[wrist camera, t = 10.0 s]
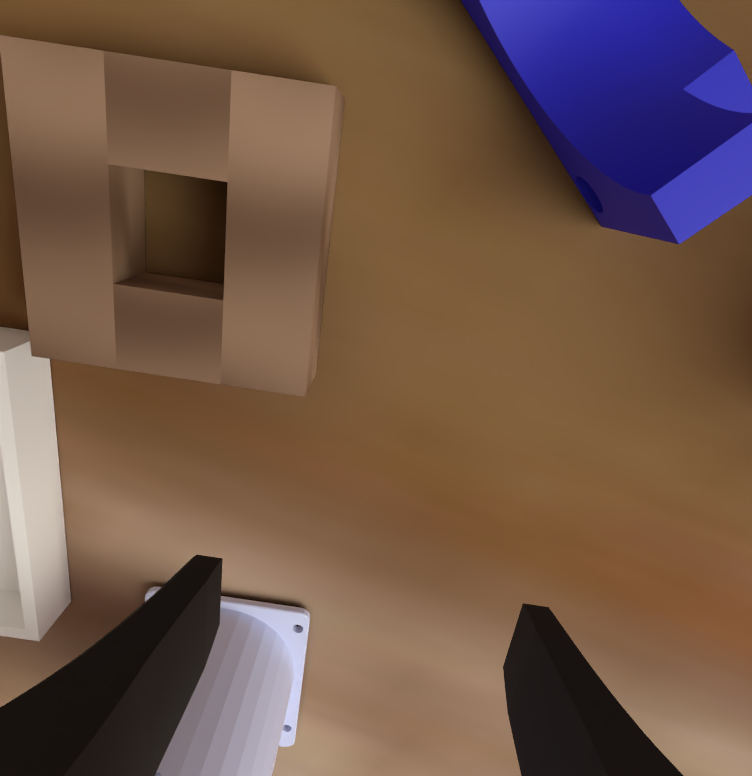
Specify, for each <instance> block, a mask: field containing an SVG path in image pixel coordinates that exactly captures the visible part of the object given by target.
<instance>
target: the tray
mask: <svg viewBox="0 0 752 776" xmlns="http://www.w3.org/2000/svg"><path fill="white" fill-rule="evenodd" d="M70 602H71V592H70V581H69V570H68V559H67V547H66V536H65V525H64V514H63V503H62V492H61V480H60V469H59V458H58V447H57V436H56V425H55V414H54V402H53V391H52V380H51V369H50V359H47V358H41V357H34V356H32V355H31V345H30V336H29V331H26V330H20V329H13V328H6V327H0V636H7V637H13V638H20V639H27V640H34V641H40V640H41V639H42V638H43V636H44V635H45V634H46V633H47V631H48V630H49V629H50V627H51V626H52V625H53V624H54V622H55V621H56V620H57V619H58V617H59V616H60V615H61V614H62V612H63V611H64V610H65V609H66V607H67V606H68V605H69V604H70Z"/></svg>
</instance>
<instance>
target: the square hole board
mask: <svg viewBox="0 0 752 776" xmlns="http://www.w3.org/2000/svg"><path fill="white" fill-rule="evenodd" d="M0 53H1V63H2V72H3V82H4V92H5V102H6V111H7V121H8V131H9V141H10V150H11V160H12V170H13V180H14V189H15V199H16V209H17V219H18V228H19V238H20V248H21V258H22V267H23V277H24V287H25V297H26V306H27V316H28V326H29V336H30V345H31V355H32V356H34V357H41V358H47V359H54V360H61V361H67V362H74V363H81V364H88V365H94V366H101V367H108V368H114V369H121V370H128V371H134V372H141V373H148V374H155V375H161V376H168V377H175V378H181V379H188V380H195V381H201V382H208V383H215V384H222V385H228V386H235V387H242V388H248V389H255V390H262V391H268V392H275V393H282V394H289V395H295V396H302V397H305V396H306V394H307V392H308V390H309V387H310V385H311V383H312V381H313V379H314V377H315V374H316V367H317V358H318V348H319V339H320V329H321V320H322V310H323V301H324V291H325V282H326V272H327V263H328V253H329V244H330V234H331V225H332V215H333V206H334V196H335V187H336V177H337V168H338V158H339V149H340V139H341V130H342V120H343V111H344V101H345V98H344V97H343V95H342V94H341V92H340V91H339V90H338V88H337V87H336V86H333V85H326V84H319V83H313V82H306V81H300V80H293V79H286V78H280V77H273V76H267V75H260V74H254V73H247V72H240V71H234V70H227V69H221V68H214V67H207V66H201V65H194V64H188V63H181V62H174V61H168V60H161V59H155V58H148V57H141V56H135V55H128V54H122V53H115V52H108V51H102V50H95V49H89V48H82V47H76V46H69V45H62V44H56V43H49V42H43V41H36V40H29V39H23V38H16V37H10V36H3V35H0ZM144 170H150V171H157V172H164V173H170V174H177V175H183V176H190V177H197V178H203V179H210V180H217V181H223V182H228V185H227V213H226V241H225V270H224V284H221V283H215V282H208V281H201V280H195V279H188V278H181V277H175V276H168V275H161V274H155V273H148V272H146V237H145V182H144Z"/></svg>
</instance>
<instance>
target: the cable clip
mask: <svg viewBox="0 0 752 776" xmlns="http://www.w3.org/2000/svg"><path fill="white" fill-rule="evenodd" d="M461 2H462V3H463V5H464V6H465V8H466V10H467V11H468V13H469V14H470V16H471V18H472V19H473V21H474V22H475V24H476V26H477V27H478V29H479V30H480V32H481V34H482V35H483V37H484V39H485V40H486V42H487V43H488V45H489V47H490V48H491V50H492V51H493V53H494V55H495V56H496V58H497V59H498V61H499V63H500V64H501V66H502V67H503V69H504V71H505V72H506V74H507V75H508V77H509V79H510V80H511V82H512V83H513V85H514V87H515V88H516V90H517V91H518V93H519V95H520V96H521V98H522V99H523V101H524V103H525V104H526V106H527V108H528V109H529V111H530V112H531V114H532V116H533V117H534V119H535V120H536V122H537V124H538V125H539V127H540V128H541V130H542V132H543V133H544V135H545V136H546V138H547V140H548V141H549V143H550V144H551V146H552V148H553V149H554V151H555V152H556V154H557V156H558V157H559V159H560V160H561V162H562V164H563V165H564V167H565V169H566V170H567V172H568V173H569V175H570V177H571V178H572V180H573V181H574V183H575V185H576V186H577V188H578V189H579V191H580V193H581V194H582V196H583V197H584V199H585V201H586V202H587V204H588V205H589V207H590V209H591V210H592V212H593V213H594V215H595V217H596V218H597V220H598V221H599V223H600V225H601V226H602V227H606V228H611V229H615V230H619V231H624V232H628V233H632V234H637V235H641V236H646V237H650V238H654V239H659V240H663V241H667V242H672V243H676V244H680V243H682V242H683V241H685V240H686V239H688V238H689V237H691V236H692V235H694V234H695V233H696V232H698V231H699V230H701V229H702V228H704V227H705V226H707V225H708V224H710V223H711V222H713V221H714V220H716V219H717V218H719V217H720V216H721V215H723V214H724V213H726V212H727V211H729V210H730V209H732V208H733V207H735V206H736V205H738V204H739V203H741V202H742V201H744V200H745V199H746V198H748V197H749V196H751V195H752V86H751V84H750V82H749V80H748V78H747V76H746V73H745V71H744V69H743V67H742V65H741V63H740V61H739V59H738V57H737V55H736V53H735V51H734V50H733V49H731V48H730V47H728V46H727V45H725V44H724V43H722V42H721V41H720V40H718V39H717V38H716V37H714V36H713V35H712V34H711V33H710V32H708V31H707V30H706V29H705V28H704V27H703V26H702V25H701V24H700V23H699V22H698V21H697V20H696V19H695V18H694V17H693V16H692V15H691V14H690V13H689V12H688V10H687V9H686V8H685V7H684V6H683V5H682V3H681V2H680V1H679V0H461Z"/></svg>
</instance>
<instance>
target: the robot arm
mask: <svg viewBox="0 0 752 776" xmlns="http://www.w3.org/2000/svg"><path fill="white" fill-rule="evenodd" d="M221 580H222V558H215V557H208V556H202V555H196V556H194V557H193V558H192V559H191V560H190V561H189V562H188V563H187V564H186V565H185V566H183V567H182V568H181V569H180V570H179V571H178V572H177V573H176V574H175V575H174V576H173V577H172V578H171V579H170V580H169V581H168V582H167V583H166V584H165V585H163V586H162V587H151V588H150V589H149V590H148V592H147V593H146V595H145V603H143V604H142V605H141V606H140V607H139V608H138V609H137V610H136V611H134V612H133V613H132V614H131V615H130V616H129V617H127V618H126V619H125V620H124V621H123V622H121V623H120V624H119V625H118V626H116V627H115V628H114V629H113V630H111V631H110V632H109V633H108V634H106V635H105V636H104V637H103V638H101V639H100V640H99V641H98V642H96V643H95V644H94V645H93V646H91V647H90V648H89V649H87V650H86V651H85V652H83V653H82V654H81V655H79V656H78V657H77V658H75V659H74V660H72V661H71V662H70V663H68V664H67V665H65V666H64V667H62V668H61V669H60V670H58V671H57V672H55V673H54V674H52V675H51V676H49V677H48V678H46V679H45V680H43V681H42V682H40V683H39V684H37V685H36V686H34V687H32V688H31V689H29V690H28V691H26V692H25V693H23V694H21V695H20V696H18V697H17V698H15V699H14V700H12V701H10V702H9V703H7V704H5V705H4V706H2V707H0V776H272V773H273V769H274V764H275V760H276V755H277V751H278V746H283V747H289V746H291V745H293V744H294V742H295V737H296V729H297V721H298V712H299V704H300V696H301V688H302V680H303V672H304V664H305V656H306V647H307V639H308V631H309V623H310V613H309V612H308V611H307V610H306V609H304V608H299V607H293V606H286V605H279V604H272V603H266V602H259V601H252V600H245V599H239V598H232V597H225V596H221ZM296 625H300V626H302V627H298V626H296ZM503 669H504V680H505V691H506V700H507V708H508V715H509V720H510V725H511V729H512V734H513V739H514V743H515V748H516V753H517V757H518V762H519V766H520V771H521V775H522V776H683V775H682V774H681V773H680V772H679V771H678V769H677V768H676V767H675V766H674V765H673V764H672V763H671V762H670V761H669V760H668V759H667V758H666V757H665V756H664V755H663V754H662V752H661V751H660V750H659V749H658V748H657V747H656V746H655V745H654V744H653V743H652V741H651V740H650V739H649V738H648V737H647V736H646V735H645V734H644V732H643V731H642V730H641V729H640V728H639V726H638V725H637V724H636V723H635V722H634V720H633V719H632V718H631V717H630V716H629V714H628V713H627V712H626V711H625V710H624V709H623V707H622V706H621V705H620V704H619V702H618V701H617V700H616V699H615V697H614V696H613V695H612V694H611V692H610V691H609V690H608V688H607V687H606V686H605V684H604V683H603V682H602V680H601V679H600V678H599V677H598V675H597V674H596V673H595V671H594V670H593V669H592V667H591V666H590V665H589V663H588V662H587V660H586V659H585V658H584V656H583V655H582V654H581V652H580V651H579V649H578V648H577V647H576V645H575V644H574V642H573V641H572V640H571V638H570V637H569V635H568V634H567V633H566V631H565V630H564V628H563V627H562V626H561V624H560V623H559V621H558V620H557V619H556V617H555V616H554V614H553V613H552V612H551V610H550V609H549V607H543V606H536V605H529V604H523V605H522V608H521V611H520V615H519V618H518V621H517V624H516V627H515V631H514V634H513V637H512V640H511V643H510V647H509V650H508V653H507V656H506V659H505V663H504V666H503Z"/></svg>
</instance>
